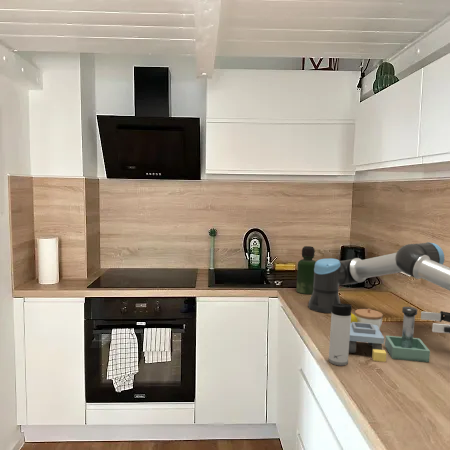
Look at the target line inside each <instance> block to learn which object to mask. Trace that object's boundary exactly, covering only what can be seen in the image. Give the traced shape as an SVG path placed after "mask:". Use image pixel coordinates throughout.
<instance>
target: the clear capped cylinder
mask: <svg viewBox="0 0 450 450" xmlns="http://www.w3.org/2000/svg"><path fill="white" fill-rule="evenodd" d="M401 313H403V319H402V320H403V321H402V333H401V337H402V342H401V347H402V348H412V344H413V338H414V334H415V333H414V332H415V321H416V316H417V315H418V309H417V308H416V307H412V306H403V307H402V310H401Z"/></svg>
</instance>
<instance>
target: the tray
mask: <svg viewBox="0 0 450 450" xmlns="http://www.w3.org/2000/svg"><path fill="white" fill-rule="evenodd" d="M401 342H402V336H397V335H396V336H395V335H385V337H384V347H385V349H386V351H387V354H389V355H390V358H391V359H392V360H401V361H411V362H421V363H430V357H431V350H430V349H429V347H427V345H426V344H425V343H424V342H423V340H421V338H419V337H413V344H412V348H402V347H401Z"/></svg>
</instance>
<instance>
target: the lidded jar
mask: <svg viewBox="0 0 450 450" xmlns="http://www.w3.org/2000/svg"><path fill="white" fill-rule="evenodd" d="M354 315H355V316H356V318H357V322H360V323H371V324H373V325H377V326H378V328H379V329H380V328H381V326H382V323H383V317H384V314H383V313H382V312H381V311H378V310H374V309H371V308H359V309H356V310H355V311H354Z"/></svg>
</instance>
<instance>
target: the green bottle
mask: <svg viewBox="0 0 450 450" xmlns="http://www.w3.org/2000/svg"><path fill="white" fill-rule="evenodd" d="M315 254H316V250H315V247H314V246H307V245H305V246H303V247H302V249H301V257H302V258H301V259H300V260H299V261H298V262H297V273H296V275H297V276H296V288H295V289H296V292H297V293H299V294H304V295H312V293H313V285H314V268H315V263H316V261H317V260H314V259H315Z"/></svg>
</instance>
